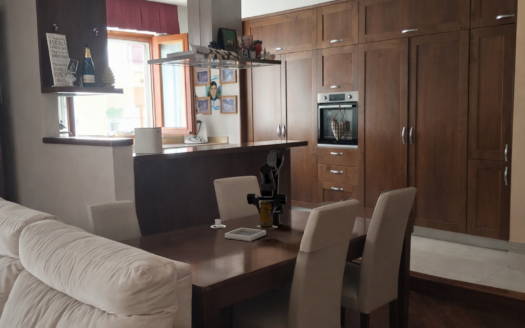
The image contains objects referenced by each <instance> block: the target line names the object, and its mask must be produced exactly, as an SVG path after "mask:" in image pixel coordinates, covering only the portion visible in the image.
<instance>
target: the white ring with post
mask: <svg viewBox="0 0 525 328" xmlns="http://www.w3.org/2000/svg"><path fill="white" fill-rule="evenodd" d="M210 228H212V229H222V228H226V225H225V224H222V220H221V219H220V218H216V219H214V224H213V225H211V226H210Z"/></svg>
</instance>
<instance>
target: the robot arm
mask: <svg viewBox="0 0 525 328" xmlns="http://www.w3.org/2000/svg"><path fill="white" fill-rule="evenodd" d="M266 159H267V162H265V163H264V164H263V165H261V166H260V167H259V172H260V173H259V174H260V178H261V180H262V181H261V183H260V188H259V189H260V195H257V194H256V193H247V194H246V201H247V204H248V205H253V206H254V207H256V210H257V212H258V215H260V207H261V206H260V202H261V201H271V205H272V206H271V207H272V214H273V226H276V227H278V226H279V225H283V222H281V215H282V214H284V205H287V203H288V202H287V201H288V200H287V199H288V198H287V194H286V193H279V188H280V187H279V186H280V184H279V183H280V170H281V168H282V167H283V165H284V162H285V161H284V160H285V156H284V153H282V152H280V151H279V150H278V149H277V150H275V149H274V150H269V151H268V153H267V158H266Z"/></svg>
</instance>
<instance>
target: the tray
mask: <svg viewBox="0 0 525 328" xmlns="http://www.w3.org/2000/svg"><path fill="white" fill-rule="evenodd" d="M266 235H267V229H255V228H247V227H240V228H236V229H233V230H230V231H228V232H225V233H224V238H225V239H230V240H237V241H244V242H252V241H254V240H257V239H260V238H262V237H265V236H266Z"/></svg>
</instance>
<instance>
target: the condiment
mask: <svg viewBox="0 0 525 328" xmlns="http://www.w3.org/2000/svg"><path fill="white" fill-rule="evenodd" d="M259 204H260V214H259V225H256V227H257V228H259V229H262V230H270V229H272V230H273V229H276V228H278V226H273V214H272V207H271V206H272V205H271V201H259Z"/></svg>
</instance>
